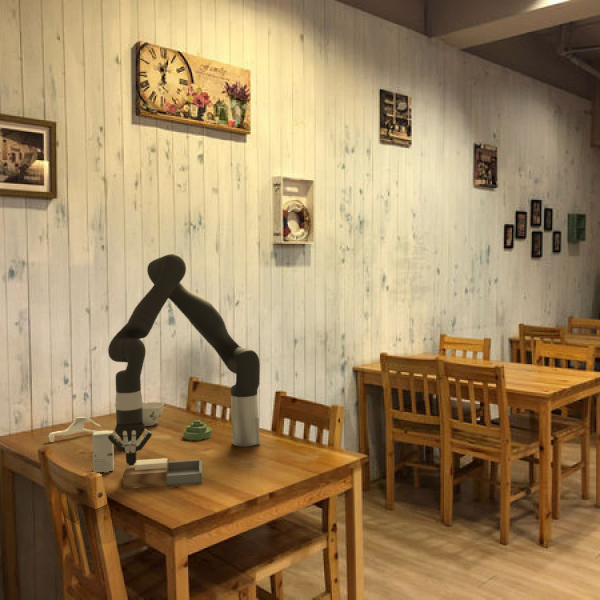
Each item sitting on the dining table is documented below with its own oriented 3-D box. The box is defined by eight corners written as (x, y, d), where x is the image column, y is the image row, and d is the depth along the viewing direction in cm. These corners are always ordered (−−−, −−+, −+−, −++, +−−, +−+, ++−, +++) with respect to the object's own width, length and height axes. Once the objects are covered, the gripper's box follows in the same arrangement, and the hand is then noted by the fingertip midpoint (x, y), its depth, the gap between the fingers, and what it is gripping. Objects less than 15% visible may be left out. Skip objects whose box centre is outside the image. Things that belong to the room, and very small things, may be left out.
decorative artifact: (191, 442, 226) (216, 437, 231) (190, 423, 225) (215, 418, 231) (179, 436, 234) (204, 431, 239) (178, 417, 233) (203, 413, 239)
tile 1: (152, 464, 189) (152, 459, 189) (150, 469, 185) (150, 464, 185) (136, 465, 189) (136, 460, 189) (134, 470, 184) (134, 465, 184)
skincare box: (93, 474, 194) (91, 434, 193) (94, 469, 199) (92, 431, 198) (114, 471, 196) (112, 433, 195) (114, 467, 200) (113, 429, 199)
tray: (202, 468, 196) (201, 459, 196) (202, 483, 183) (201, 473, 183) (169, 471, 195) (168, 461, 194) (166, 486, 182) (166, 475, 182)
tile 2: (167, 463, 190) (167, 458, 190) (166, 467, 186) (166, 462, 185) (152, 464, 189) (152, 459, 189) (150, 469, 185) (150, 463, 185)
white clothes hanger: (91, 449, 241) (46, 440, 230) (101, 420, 243) (56, 410, 232) (93, 450, 240) (47, 441, 228) (103, 421, 242) (58, 411, 231)
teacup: (170, 424, 251) (169, 404, 251) (141, 430, 243) (140, 410, 242) (151, 418, 262) (150, 398, 262) (123, 423, 254) (122, 404, 253)
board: (169, 471, 194) (168, 459, 194) (166, 485, 182) (166, 471, 182) (128, 474, 192) (128, 461, 192) (123, 489, 180) (123, 475, 180)
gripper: (153, 402, 190) (155, 459, 191) (107, 404, 188) (110, 462, 189) (151, 407, 183) (153, 467, 184) (103, 410, 181) (106, 470, 182)
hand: (131, 464), depth 186 cm, fingers closed
